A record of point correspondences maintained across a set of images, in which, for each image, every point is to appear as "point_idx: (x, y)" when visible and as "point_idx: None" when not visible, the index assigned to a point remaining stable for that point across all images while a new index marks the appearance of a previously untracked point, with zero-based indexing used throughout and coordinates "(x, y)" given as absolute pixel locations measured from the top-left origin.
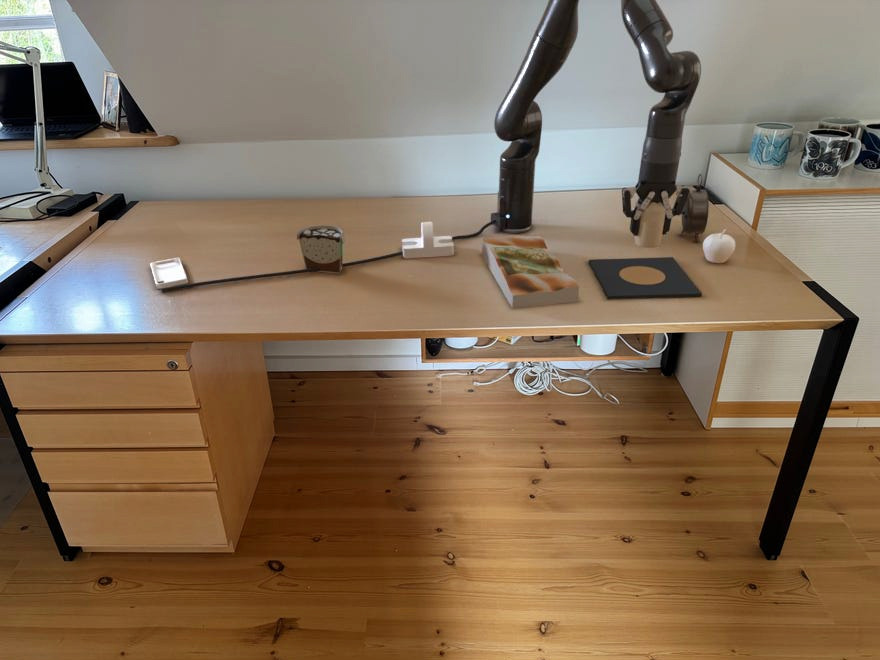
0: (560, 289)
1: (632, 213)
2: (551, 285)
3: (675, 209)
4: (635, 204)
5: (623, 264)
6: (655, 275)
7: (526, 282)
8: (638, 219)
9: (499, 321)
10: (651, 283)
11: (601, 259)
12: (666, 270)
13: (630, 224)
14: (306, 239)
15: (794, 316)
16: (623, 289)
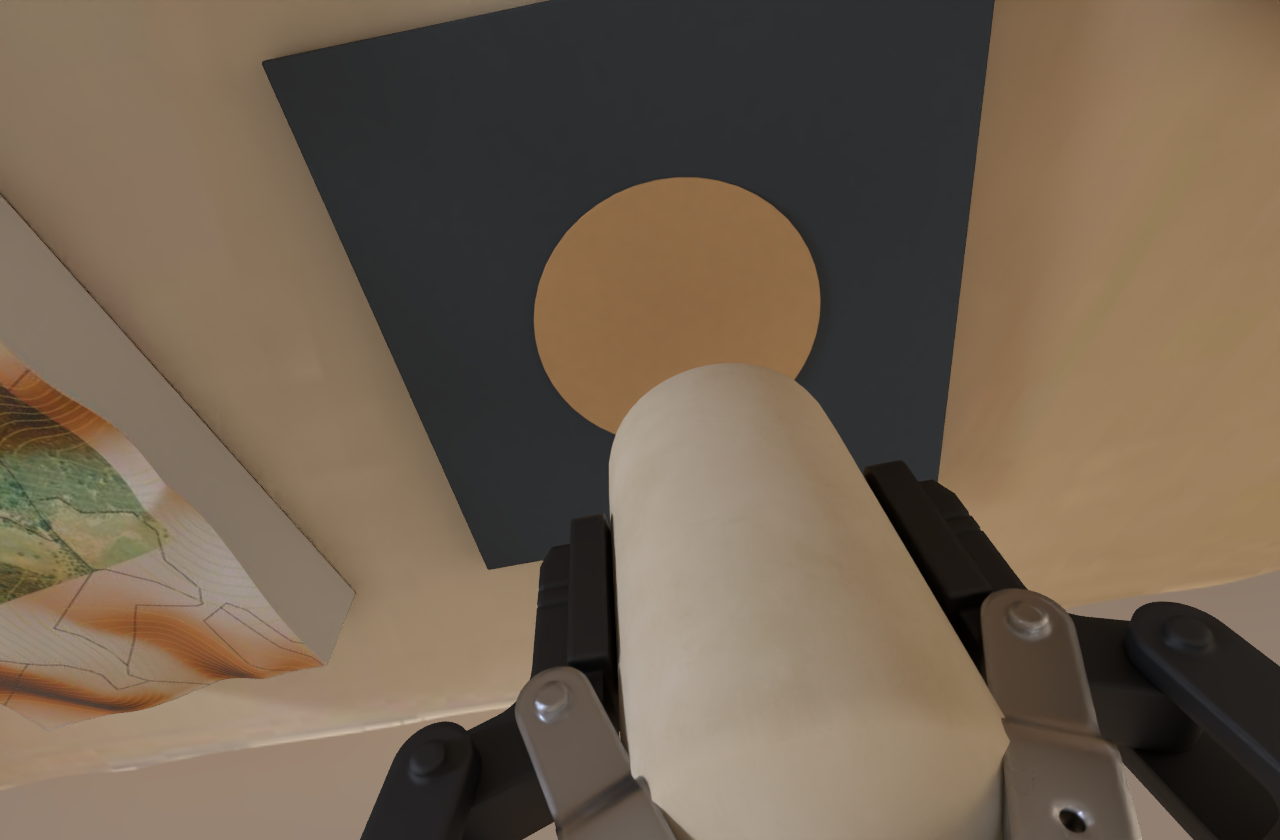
0: (245, 677)
1: (530, 817)
2: (182, 652)
3: (1145, 731)
4: (558, 833)
5: (561, 147)
6: (760, 321)
7: (38, 685)
8: (617, 721)
9: (104, 746)
10: None
11: (370, 47)
12: (855, 225)
13: (538, 613)
14: None
15: (1200, 569)
16: (560, 503)
